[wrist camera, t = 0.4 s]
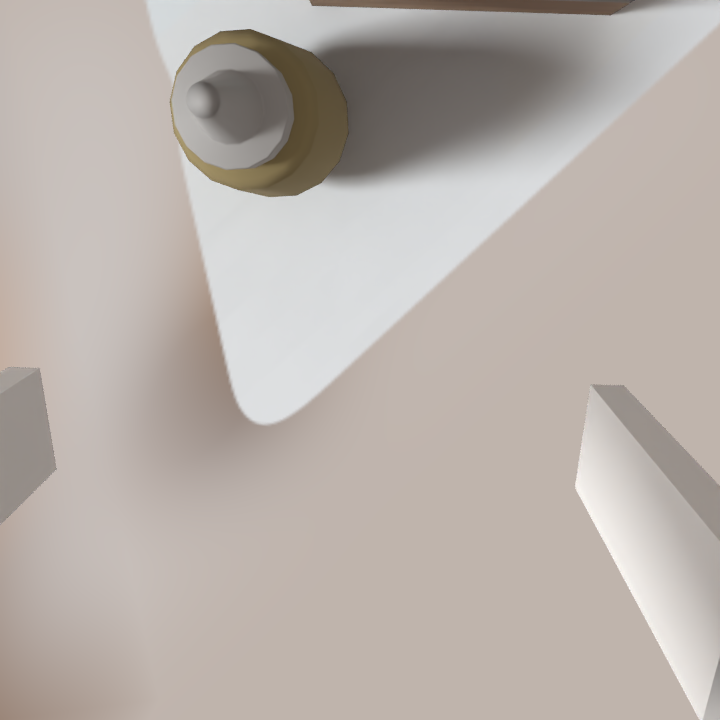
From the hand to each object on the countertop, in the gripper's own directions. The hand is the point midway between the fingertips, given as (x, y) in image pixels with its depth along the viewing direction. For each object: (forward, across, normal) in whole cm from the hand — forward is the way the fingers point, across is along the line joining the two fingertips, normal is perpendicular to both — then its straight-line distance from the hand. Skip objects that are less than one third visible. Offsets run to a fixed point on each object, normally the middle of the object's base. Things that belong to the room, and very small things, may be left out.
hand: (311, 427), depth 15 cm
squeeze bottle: (+27, -5, +7) cm, 28 cm away
